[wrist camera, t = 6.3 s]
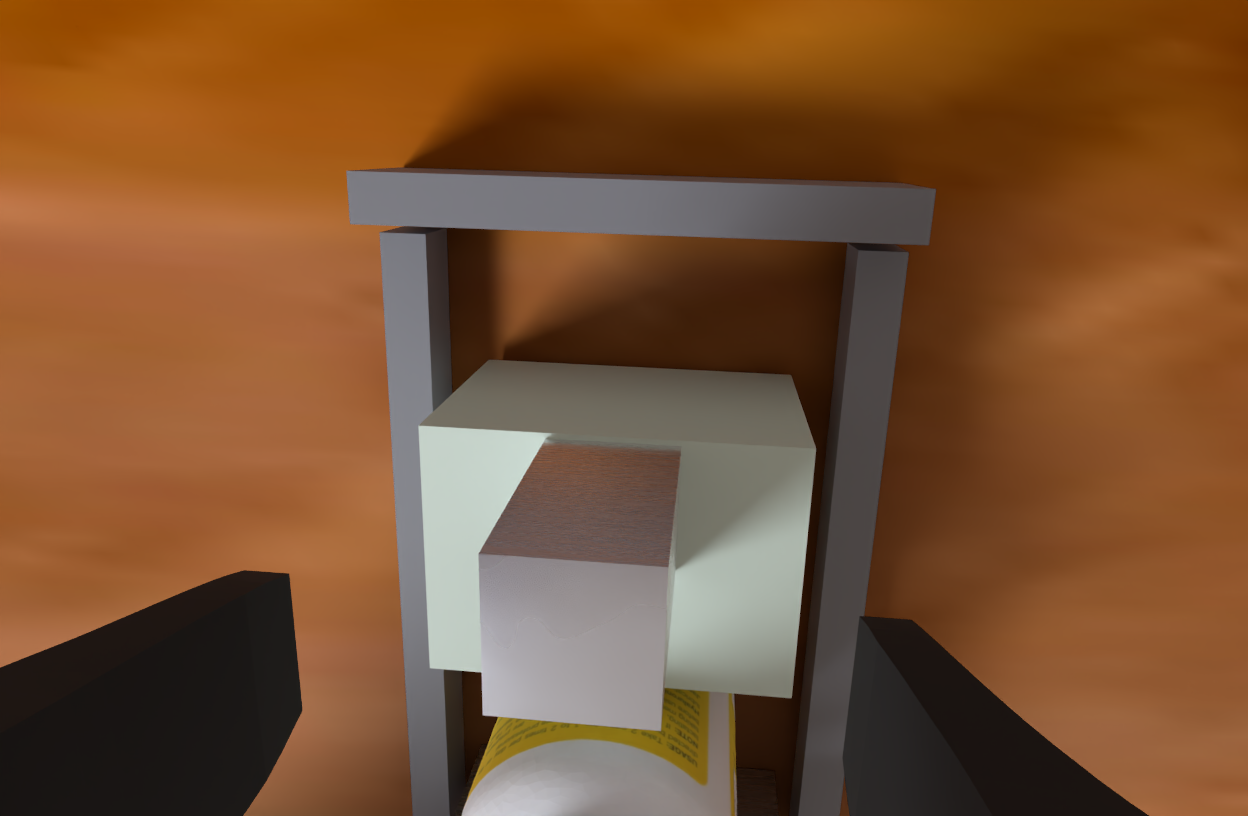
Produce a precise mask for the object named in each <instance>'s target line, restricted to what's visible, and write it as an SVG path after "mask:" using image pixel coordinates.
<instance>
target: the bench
mask: <svg viewBox="0 0 1248 816" xmlns="http://www.w3.org/2000/svg"><path fill="white" fill-rule="evenodd" d="M347 186H348V201H349V216H350V224H362V225H389V226H404V227H400V228H396V229H392V230H388V231H384V232H380V247H381V265H382V282H383V300H384V317H385V335H386V352H387V370H388V387H389V405H390V422H391V440H392V458H393V475H394V493H395V510H396V528H397V545H398V563H399V580H400V598H401V615H402V633H403V651H404V668H405V686H406V703H407V721H408V738H409V756H410V773H411V791H412V808H413V816H462V812H463V809H464V806H465V803H466V800H467V797H468V794H469V792H470V789H471V786H472V784H473V781H474V778H475V776H476V774H477V771H478V769H479V766H480V763H481V761H482V758H483V756H484V753H485V751H486V748H487V745H485V744H482V745H481V748H480V750H479V753H478V756H477V758H476V761H475V763H474V766H473V768H472V771H471V774H470V776H469V779H468V781H467V784H466V780H465V751H464V722H463V693H462V671H458V670H446V669H434V668H430V662H429V640H428V619H427V598H426V576H425V555H424V534H423V513H422V491H421V470H420V449H419V427H418V426H419V425H420V424H421V423H422V422H423V421H424V420H425V419H426V418H427V417H428V416H429V415H430V414H431V413H432V412H433V411H435V410H436V409H437V408H438V407H439V406H440V405H441V404H442V403H443V402H444V401H445V400H446V399H447V398H448V397H449V396H451V395H452V371H451V342H450V313H449V284H448V254H447V228H471V229H498V230H525V231H552V232H579V233H607V234H634V235H661V236H688V237H716V238H743V239H770V240H797V241H824V242H852V243H847V252H846V261H845V271H844V281H843V291H842V301H841V310H840V320H839V330H838V340H837V349H836V359H835V369H834V379H833V389H832V398H831V408H830V418H829V428H828V438H827V447H826V457H825V467H824V477H823V487H822V496H821V506H820V516H819V526H818V536H817V545H816V555H815V565H814V575H813V585H812V594H811V604H810V614H809V624H808V634H807V643H806V653H805V663H804V673H803V682H802V692H801V702H800V712H799V722H798V731H797V741H796V751H795V761H794V771H793V780H792V790H791V800H790V810H789V816H840V807H841V799H842V791H843V783H844V767H843V759H842V757H843V749H844V740H845V732H846V724H847V716H848V707H849V699H850V691H851V683H852V674H853V666H854V658H855V650H856V641H857V633H858V625H859V617H860V616H864V613H865V605H866V597H867V589H868V581H869V573H870V565H871V556H872V548H873V540H874V532H875V524H876V516H877V508H878V500H879V492H880V484H881V475H882V467H883V459H884V451H885V443H886V435H887V427H888V419H889V411H890V403H891V394H892V386H893V378H894V370H895V362H896V354H897V346H898V338H899V330H900V322H901V314H902V305H903V297H904V289H905V281H906V273H907V265H908V257H909V252H907V251H906V250H904V249H902V248H900V247H898V246H896V245H894V244H906V245H929V241H930V233H931V225H932V218H933V210H934V202H935V195H936V189H932V188H927V187H921V186H916V185H911V184H905V183H891V182H858V181H825V180H792V179H760V178H727V177H694V176H661V175H629V174H596V173H563V172H530V171H497V170H465V169H432V168H386V169H369V170H353V171H347ZM408 226H416V227H408ZM435 227H443V228H435ZM870 243H879V244H870ZM736 787H737V816H779V813H778V803H777V792H776V782H775V772H774V771H770V770H759V769H748V768H737V767H736Z"/></svg>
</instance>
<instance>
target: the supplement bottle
mask: <svg viewBox="0 0 1248 816" xmlns="http://www.w3.org/2000/svg"><path fill="white" fill-rule="evenodd" d="M462 816H737V787H736V749H735V701H734V694H733V693H721V692H709V691H697V690H685V689H673V688H665V692H664V703H663V714H662V725H661V731H655V730H643V729H632V728H621V727H609V726H598V725H587V724H575V723H564V722H552V721H541V720H530V719H518V718H507V717H498V719H497V721H496V724H495V726H494V729H493V731H492V734H491V737H490V740H489V743H488V745H487V748H486V751H485V753H484V756H483V758H482V761H481V763H480V766H479V769H478V771H477V774H476V776H475V778H474V781H473V784H472V786H471V789H470V792H469V794H468V797H467V800H466V803H465V806H464V809H463V812H462Z"/></svg>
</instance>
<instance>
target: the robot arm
mask: <svg viewBox="0 0 1248 816" xmlns="http://www.w3.org/2000/svg"><path fill="white" fill-rule="evenodd" d="M301 712H302V701H301V690H300V680H299V670H298V660H297V650H296V640H295V629H294V619H293V609H292V599H291V589H290V578H289V574H286V573H272V572H259V571H245V570H244V571H240V572H237V573H234V574H230V575H227V576H224V577H221V578H218V579H215V580H213V581H210V582H208V583H205V584H202V585H200V586H197V587H195V588H192V589H190V590H187V591H185V592H183V593H180V594H178V595H175V596H173V597H171V598H168V599H166V600H164V601H161V602H159V603H157V604H154V605H152V606H149V607H147V608H145V609H142V610H140V611H138V612H135V613H133V614H131V615H128V616H126V617H124V618H121V619H119V620H117V621H114V622H112V623H110V624H107V625H105V626H103V627H100V628H98V629H96V630H93V631H91V632H89V633H86V634H84V635H81V636H79V637H77V638H74V639H72V640H69V641H67V642H64V643H61V644H59V645H56V646H54V647H51V648H49V649H46V650H44V651H41V652H39V653H36V654H34V655H31V656H29V657H26V658H24V659H21V660H19V661H16V662H13V663H11V664H8V665H6V666H3V667H1V668H0V816H243V815H244V813H245V812H246V811H247V809H248V808H249V806H250V805H251V803H252V802H253V800H254V799H255V797H256V796H257V794H258V793H259V791H260V790H261V788H262V787H263V785H264V784H265V782H266V781H267V779H268V777H269V775H270V773H271V771H272V770H273V768H274V766H275V764H276V762H277V760H278V758H279V756H280V755H281V753H282V751H283V749H284V747H285V745H286V743H287V741H288V739H289V737H290V735H291V733H292V730H293V728H294V726H295V724H296V722H297V720H298V718H299V716H300V714H301ZM842 759H843V767H844V775H845V784H846V792H847V800H848V807H849V815H850V816H1149V815H1147V814H1146V813H1144V812H1143V811H1141V810H1140V809H1138V808H1137V807H1135V806H1134V805H1132V804H1131V803H1130V802H1128V801H1127V800H1125V799H1124V798H1123V797H1121V796H1120V795H1119V794H1117V793H1116V792H1114V791H1113V790H1112V789H1110V788H1109V787H1107V786H1106V785H1105V784H1103V783H1102V782H1101V781H1099V780H1098V779H1097V778H1095V777H1094V776H1093V775H1092V774H1090V773H1089V772H1088V771H1087V770H1085V769H1084V768H1083V767H1081V766H1080V765H1079V764H1078V763H1076V762H1075V761H1074V760H1072V759H1071V758H1070V757H1069V756H1067V755H1066V754H1065V753H1063V752H1062V751H1061V750H1060V749H1058V748H1057V747H1056V746H1055V745H1053V744H1052V743H1051V742H1050V741H1048V740H1047V739H1046V738H1045V737H1044V736H1042V735H1041V734H1040V733H1039V732H1037V731H1036V730H1035V729H1034V728H1033V727H1031V726H1030V725H1029V724H1028V723H1027V722H1025V721H1024V720H1023V719H1022V718H1021V717H1020V716H1018V715H1017V714H1016V713H1015V712H1014V711H1013V710H1011V709H1010V708H1009V707H1008V706H1007V705H1006V704H1005V703H1003V702H1002V701H1001V700H1000V699H999V698H998V697H997V696H996V695H994V694H993V693H992V692H991V691H990V690H989V689H988V688H987V687H985V686H984V685H983V684H982V683H981V682H980V681H979V680H978V679H977V678H975V677H974V676H973V675H972V674H971V673H970V672H969V671H968V670H967V669H966V668H965V667H963V666H962V665H961V664H960V663H959V662H958V661H957V660H956V659H955V658H954V657H953V656H952V655H950V654H949V653H948V652H947V651H946V650H945V649H944V648H943V647H942V646H941V645H940V644H939V643H937V642H936V641H935V640H934V639H933V638H932V637H931V636H930V635H929V634H928V633H926V632H925V631H924V630H923V629H922V628H921V627H919V626H918V625H917V624H916V623H915V622H913V621H912V620H907V619H893V618H880V617H866V616H860V617H859V625H858V633H857V641H856V650H855V658H854V666H853V674H852V683H851V691H850V699H849V707H848V716H847V724H846V732H845V740H844V749H843V757H842Z"/></svg>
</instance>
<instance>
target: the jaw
mask: <svg viewBox="0 0 1248 816" xmlns="http://www.w3.org/2000/svg"><path fill="white" fill-rule="evenodd" d="M418 427H419V449H420V470H421V491H422V513H423V534H424V555H425V576H426V598H427V619H428V640H429V662H430V668H434V669H446V670H458V671H470V672H482V707H483V715H484V716H496V717H507V718H518V719H530V720H541V721H552V722H564V723H575V724H587V725H598V726H609V727H621V728H632V729H643V730H655V731H661V725H662V714H663V703H664V692H665V688H673V689H685V690H697V691H709V692H721V693H733V694H745V695H757V696H769V697H781V698H792V690H793V680H794V670H795V659H796V649H797V639H798V629H799V619H800V609H801V598H802V588H803V578H804V568H805V558H806V548H807V537H808V527H809V517H810V507H811V497H812V487H813V476H814V466H815V456H816V447H815V444H814V441H813V438H812V435H811V432H810V429H809V426H808V423H807V420H806V417H805V414H804V411H803V408H802V405H801V403H800V400H799V397H798V394H797V391H796V388H795V385H794V382H793V379H792V376H791V375H784V374H764V373H744V372H725V371H705V370H685V369H665V368H645V367H626V366H606V365H586V364H566V363H546V362H527V361H507V360H488V361H487V362H486V363H485V364H484V365H483V366H481V367H480V368H479V369H478V370H477V371H476V372H475V373H474V374H473V375H472V376H471V377H470V378H469V379H468V380H467V381H465V382H464V383H463V384H462V385H461V386H460V387H459V388H458V389H457V390H456V391H455V392H454V393H453V394H452V395H451V396H449V397H448V398H447V399H446V400H445V401H444V402H443V403H442V404H441V405H440V406H439V407H438V408H437V409H436V410H435V411H433V412H432V413H431V414H430V415H429V416H428V417H427V418H426V419H425V420H424V421H423V422H422V423H421V424H420V425H419V426H418Z"/></svg>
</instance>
